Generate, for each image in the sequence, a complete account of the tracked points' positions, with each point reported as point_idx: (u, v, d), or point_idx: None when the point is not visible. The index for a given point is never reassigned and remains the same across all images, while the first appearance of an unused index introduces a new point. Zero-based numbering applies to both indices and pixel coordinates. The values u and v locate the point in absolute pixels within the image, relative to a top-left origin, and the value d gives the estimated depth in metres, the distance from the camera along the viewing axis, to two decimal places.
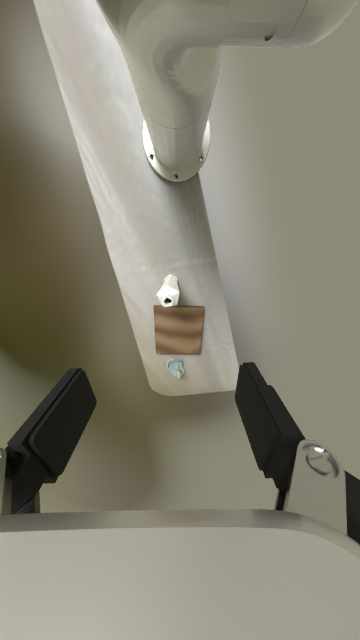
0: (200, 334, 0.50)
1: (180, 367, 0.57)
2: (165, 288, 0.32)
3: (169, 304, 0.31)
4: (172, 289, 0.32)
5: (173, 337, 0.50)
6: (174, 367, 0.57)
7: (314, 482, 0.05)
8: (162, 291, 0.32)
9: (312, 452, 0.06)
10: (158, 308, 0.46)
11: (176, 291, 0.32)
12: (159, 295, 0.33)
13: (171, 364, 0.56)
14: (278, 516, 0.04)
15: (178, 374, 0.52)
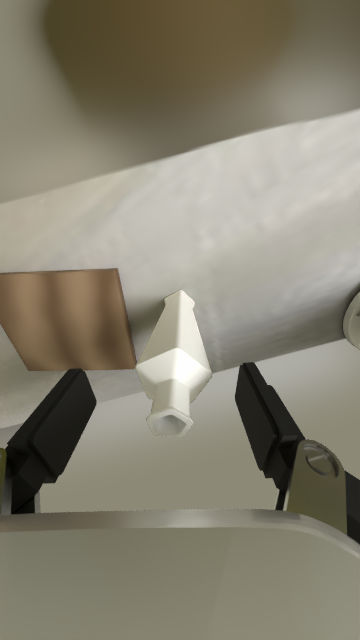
0: None
1: None
2: (202, 375, 0.10)
3: (156, 421, 0.08)
4: (199, 390, 0.10)
5: (45, 318, 0.21)
6: None
7: (314, 482, 0.05)
8: (192, 368, 0.09)
9: (312, 452, 0.06)
10: (112, 283, 0.18)
11: (192, 399, 0.11)
12: (177, 360, 0.09)
13: None
14: (278, 516, 0.04)
15: None
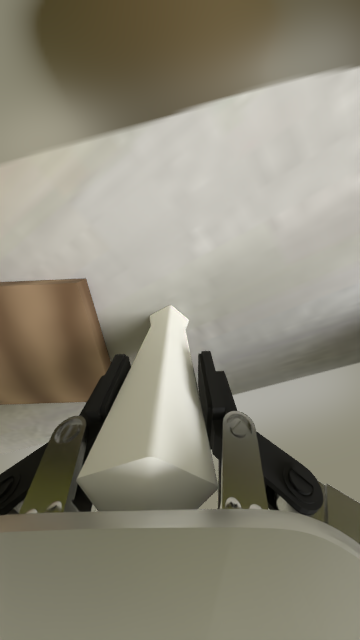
0: (42, 401, 0.19)
1: None
2: (201, 494, 0.05)
3: None
4: None
5: None
6: None
7: (227, 441, 0.06)
8: (181, 488, 0.05)
9: (233, 422, 0.07)
10: (78, 298, 0.14)
11: None
12: (151, 482, 0.05)
13: None
14: (278, 516, 0.04)
15: None
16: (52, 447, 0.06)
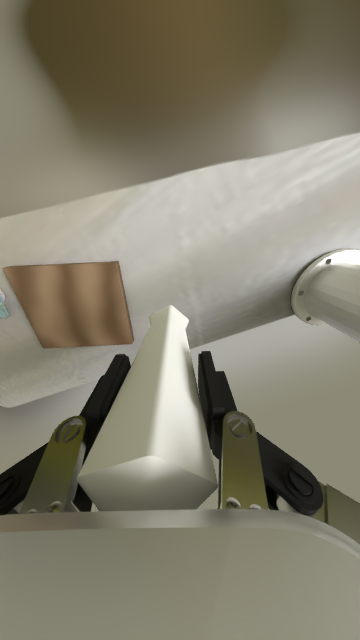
0: (84, 344, 0.30)
1: None
2: (201, 493, 0.05)
3: None
4: None
5: (60, 302, 0.26)
6: None
7: (227, 441, 0.06)
8: (181, 487, 0.05)
9: (233, 422, 0.07)
10: (115, 272, 0.24)
11: None
12: (151, 481, 0.05)
13: None
14: (278, 516, 0.04)
15: None
16: (52, 447, 0.06)
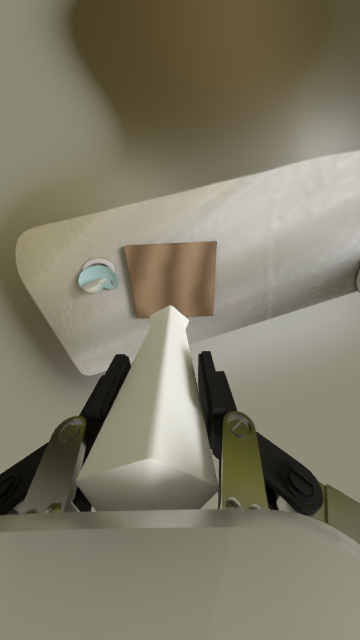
0: None
1: None
2: (201, 496, 0.05)
3: None
4: None
5: (162, 276, 0.31)
6: (97, 275, 0.31)
7: (227, 441, 0.06)
8: (181, 490, 0.05)
9: (233, 422, 0.07)
10: (214, 250, 0.29)
11: None
12: (151, 484, 0.04)
13: (103, 269, 0.31)
14: (278, 516, 0.04)
15: (95, 288, 0.28)
16: (52, 447, 0.06)
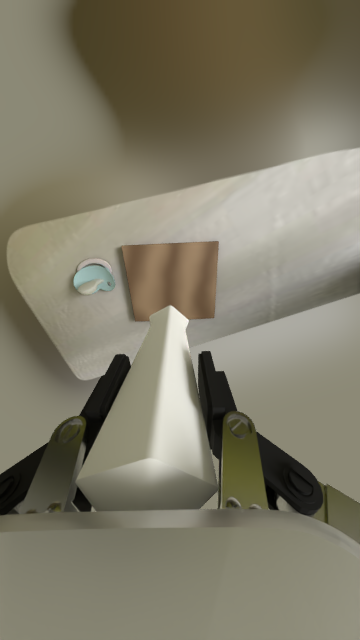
0: None
1: None
2: (201, 496, 0.05)
3: None
4: None
5: (162, 277, 0.30)
6: (93, 275, 0.30)
7: (227, 441, 0.06)
8: (181, 490, 0.05)
9: (233, 422, 0.07)
10: (216, 250, 0.28)
11: None
12: (151, 484, 0.04)
13: (99, 270, 0.29)
14: (278, 516, 0.04)
15: (91, 290, 0.26)
16: (52, 447, 0.06)
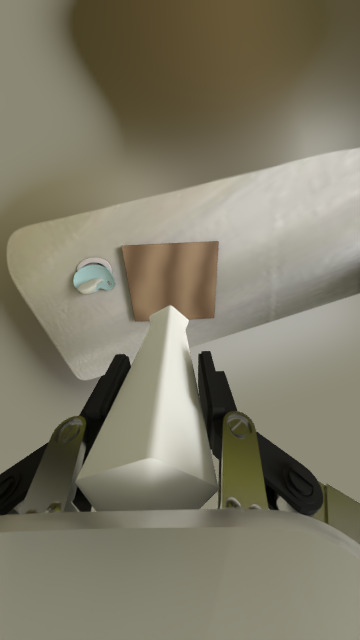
0: None
1: None
2: (201, 496, 0.05)
3: None
4: None
5: (162, 277, 0.30)
6: (92, 275, 0.30)
7: (227, 441, 0.06)
8: (181, 490, 0.05)
9: (233, 422, 0.07)
10: (216, 250, 0.28)
11: None
12: (151, 484, 0.04)
13: (99, 269, 0.29)
14: (278, 516, 0.04)
15: (91, 289, 0.26)
16: (52, 447, 0.06)
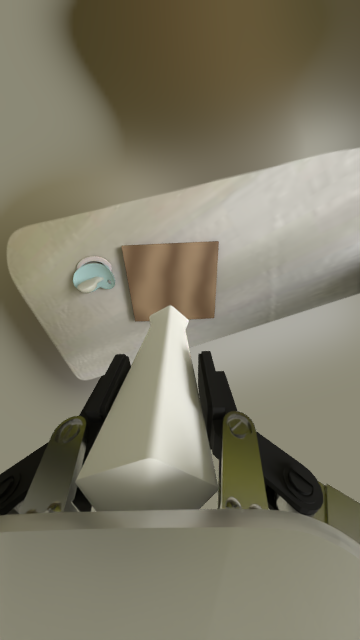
0: None
1: None
2: (201, 496, 0.05)
3: None
4: None
5: (162, 277, 0.30)
6: (92, 273, 0.30)
7: (227, 441, 0.06)
8: (181, 490, 0.05)
9: (233, 422, 0.07)
10: (216, 250, 0.28)
11: None
12: (151, 484, 0.04)
13: (99, 268, 0.29)
14: (278, 516, 0.04)
15: (91, 288, 0.26)
16: (52, 447, 0.06)
